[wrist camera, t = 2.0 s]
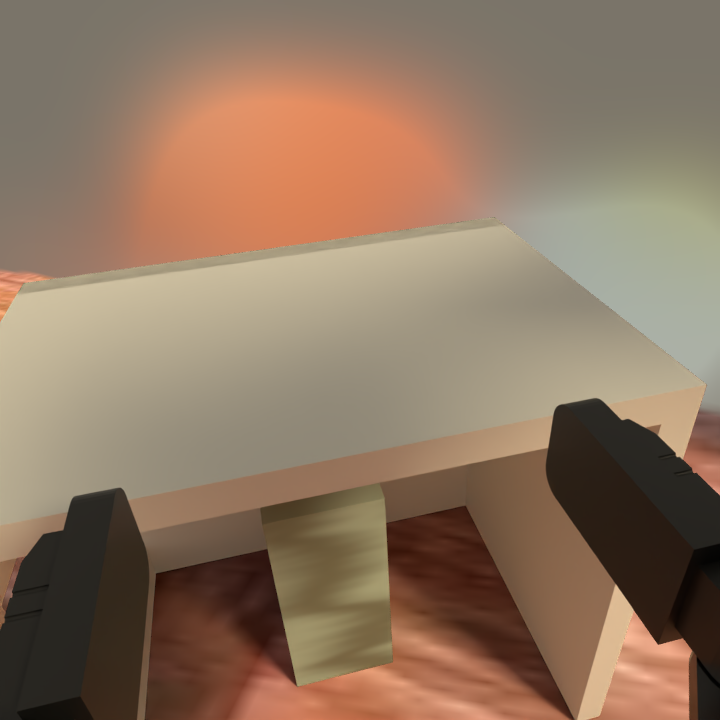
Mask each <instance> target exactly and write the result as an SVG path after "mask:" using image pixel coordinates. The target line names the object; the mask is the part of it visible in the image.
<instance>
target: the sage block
mask: <svg viewBox="0 0 720 720" xmlns="http://www.w3.org/2000/svg"><path fill="white" fill-rule="evenodd" d="M260 511H261V520H262V526H263V531H264V536H265V540H266V545H267V549H268V554H269V559H270V563H271V568H272V572H273V577H274V582H275V586H276V591H277V595H278V600H279V605H280V609H281V614H282V618H283V623H284V628H285V632H286V637H287V641H288V646H289V651H290V655H291V660H292V664H293V669H294V674H295V678H296V683H297V687H298V686H302V685H306V684H310V683H314V682H318V681H322V680H325V679H329V678H333V677H337V676H341V675H345V674H349V673H353V672H356V671H360V670H364V669H368V668H372V667H376V666H380V665H384V664H388V663H391V662H393V655H392V634H391V614H390V594H389V573H388V553H387V532H386V512H385V497H384V495H383V492H382V489H381V486H380V484H379V483H376V484H371V485H366V486H362V487H357V488H352V489H347V490H342V491H338V492H333V493H328V494H323V495H318V496H313V497H309V498H304V499H299V500H294V501H289V502H285V503H280V504H275V505H270V506H265V507H261V508H260Z"/></svg>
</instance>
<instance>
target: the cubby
mask: <svg viewBox="0 0 720 720" xmlns="http://www.w3.org/2000/svg"><path fill="white" fill-rule="evenodd" d="M706 386H707V384H705V383H704V382H703V381H702V380H700V379H699V378H698V377H696V376H695V375H694V374H693V373H691V372H690V371H689V370H688V369H686V368H685V367H684V366H683V365H681V364H680V363H679V362H677V361H676V360H675V359H673V358H672V357H671V356H670V355H669V354H667V353H666V352H665V351H664V350H662V349H661V348H660V347H658V346H657V345H656V344H655V343H653V342H652V341H651V340H650V339H648V338H647V337H646V336H644V335H643V334H642V333H641V332H639V331H638V330H637V329H636V328H634V327H633V326H632V325H630V324H629V323H628V322H627V321H625V320H624V319H623V318H622V317H620V316H619V315H618V314H617V313H615V312H614V311H613V310H612V309H610V308H609V307H608V306H606V305H605V304H604V303H603V302H601V301H600V300H599V299H598V298H596V297H595V296H594V295H592V294H591V293H590V292H589V291H587V290H586V289H585V288H584V287H582V286H581V285H580V284H578V283H577V282H576V281H575V280H573V279H572V278H571V277H570V276H568V275H567V274H566V273H565V272H563V271H562V270H561V269H559V268H558V267H557V266H556V265H554V264H553V263H552V262H551V261H549V260H548V259H547V258H545V257H544V256H543V255H542V254H540V253H539V252H537V250H535V249H534V248H533V247H532V246H530V245H529V244H528V243H526V242H525V241H524V240H522V239H521V238H520V237H519V236H517V235H516V234H515V233H514V232H512V231H511V230H510V229H508V228H507V227H506V226H505V225H504V224H502V223H501V222H500V221H499V220H497V219H496V218H495V217H492V218H485V219H478V220H471V221H463V222H457V223H450V224H443V225H436V226H428V227H421V228H414V229H406V230H399V231H393V232H385V233H378V234H371V235H364V236H357V237H349V238H343V239H335V240H328V241H321V242H315V243H307V244H300V245H293V246H285V247H279V248H271V249H264V250H257V251H250V252H242V253H235V254H229V255H221V256H214V257H207V258H200V259H193V260H186V261H178V262H171V263H164V264H157V265H150V266H143V267H135V268H128V269H122V270H114V271H107V272H100V273H93V274H86V275H78V276H71V277H64V278H57V279H50V280H43V281H36V282H28V283H23V285H22V287H21V288H20V290H19V292H18V293H17V295H16V297H15V298H14V300H13V302H12V303H11V305H10V307H9V308H8V310H7V312H6V314H5V315H4V317H3V319H2V320H1V322H0V629H1V626H2V624H3V623H5V618H4V616H5V613H6V612H5V610H4V609H3V607H2V603H3V599H4V596H5V593H6V590H7V587H8V584H9V581H10V578H11V575H12V572H13V568H14V565H15V562H16V559H17V558H20V557H25V556H27V554H28V553H29V552H30V551H31V549H32V548H33V547H34V545H35V544H36V543H37V541H38V540H39V539H40V537H41V536H42V535H43V534H46V533H51V532H56V531H61V530H63V529H64V525H65V521H66V517H67V513H68V509H69V506H70V502H71V500H72V498H73V497H74V496H77V495H83V494H88V493H93V492H98V491H104V490H109V489H114V488H122V489H123V490H124V492H125V494H126V496H127V499H128V502H129V504H130V507H131V510H132V512H133V515H134V518H135V520H136V523H137V526H138V528H139V531H140V534H141V536H142V539H143V542H144V544H145V548H146V551H147V556H148V563H149V591H148V602H147V613H146V625H145V636H144V647H143V658H142V669H141V681H140V692H139V703H138V714H137V720H145V709H146V696H147V683H148V671H149V658H150V645H151V632H152V619H153V606H154V593H155V580H156V573H160V572H165V571H169V570H174V569H179V568H183V567H188V566H192V565H197V564H201V563H206V562H210V561H215V560H220V559H224V558H229V557H233V556H238V555H242V554H247V553H252V552H256V551H261V550H265V549H267V545H266V540H265V536H264V531H263V526H262V520H261V511H260V508H261V507H265V506H270V505H275V504H280V503H285V502H289V501H294V500H299V499H304V498H309V497H313V496H318V495H323V494H328V493H333V492H338V491H342V490H347V489H352V488H357V487H362V486H366V485H371V484H376V483H379V484H380V486H381V489H382V492H383V495H384V497H385V512H386V523H388V522H393V521H397V520H402V519H406V518H411V517H416V516H420V515H425V514H429V513H434V512H438V511H443V510H448V509H452V508H457V507H461V506H466V507H467V509H468V511H469V513H470V515H471V517H472V519H473V521H474V523H475V525H476V527H477V529H478V531H479V533H480V535H481V537H482V539H483V541H484V543H485V545H486V547H487V549H488V551H489V553H490V555H491V557H492V558H493V560H494V562H495V564H496V566H497V568H498V570H499V572H500V574H501V576H502V578H503V580H504V582H505V584H506V586H507V588H508V590H509V592H510V594H511V596H512V598H513V600H514V602H515V604H516V606H517V608H518V610H519V612H520V613H521V615H522V617H523V619H524V621H525V623H526V625H527V627H528V629H529V631H530V633H531V635H532V637H533V639H534V641H535V643H536V645H537V647H538V649H539V651H540V653H541V655H542V657H543V659H544V661H545V663H546V665H547V667H548V669H549V670H550V672H551V674H552V676H553V678H554V680H555V682H556V684H557V686H558V688H559V690H560V692H561V694H562V696H563V698H564V700H565V702H566V704H567V706H568V708H569V710H570V712H571V714H572V716H573V718H574V720H588V719H591V718H595V717H598V716H600V713H601V710H602V707H603V704H604V701H605V698H606V695H607V691H608V688H609V685H610V682H611V679H612V676H613V673H614V670H615V667H616V664H617V661H618V658H619V654H620V651H621V648H622V645H623V642H624V639H625V636H626V633H627V630H628V627H629V624H630V621H631V617H632V614H633V611H634V610H633V608H632V607H631V605H630V604H629V602H628V601H627V600H626V598H625V597H624V595H623V594H622V592H621V591H620V590H619V588H618V587H617V585H616V584H615V582H614V581H613V580H612V578H611V577H610V575H609V574H608V572H607V571H606V570H605V568H604V567H603V565H602V564H601V562H600V561H599V560H598V558H597V557H596V555H595V554H594V552H593V551H592V550H591V548H590V547H589V545H588V544H587V542H586V541H585V540H584V538H583V537H582V535H581V534H580V532H579V531H578V530H577V528H576V527H575V525H574V524H573V522H572V521H571V520H570V518H569V517H568V515H567V514H566V512H565V511H564V509H563V508H562V507H561V505H560V504H559V502H558V501H557V499H556V498H555V497H554V495H553V493H552V491H551V489H550V487H549V484H548V480H547V476H546V458H547V452H548V446H549V439H550V433H551V427H552V420H553V414H554V411H555V408H556V407H557V406H558V405H561V404H566V403H571V402H576V401H582V400H587V399H592V398H598V399H600V400H602V401H603V402H604V403H605V404H606V405H607V406H608V407H609V408H610V409H611V410H612V411H613V412H614V413H615V414H616V415H617V416H618V417H619V418H620V419H621V420H625V419H630V420H632V421H634V422H636V423H638V424H639V425H641V426H643V427H645V428H647V429H649V430H650V431H652V432H654V433H656V434H657V435H658V436H659V437H660V438H661V439H662V440H663V441H664V442H665V443H666V444H667V445H668V446H669V447H670V448H671V449H672V450H673V451H674V452H675V453H676V456H677V457H681V458H682V459H683V457H684V454H685V451H686V448H687V445H688V442H689V439H690V436H691V432H692V429H693V426H694V423H695V420H696V417H697V414H698V411H699V408H700V405H701V402H702V398H703V395H704V392H705V389H706Z"/></svg>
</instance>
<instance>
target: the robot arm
mask: <svg viewBox="0 0 720 720" xmlns="http://www.w3.org/2000/svg"><path fill="white" fill-rule="evenodd" d="M546 476H547V480H548V484H549V487H550V489H551V491H552V493H553V495H554V497H555V498H556V499H557V501H558V502H559V504H560V505H561V507H562V508H563V509H564V511H565V512H566V514H567V515H568V517H569V518H570V520H571V521H572V522H573V524H574V525H575V527H576V528H577V530H578V531H579V532H580V534H581V535H582V537H583V538H584V540H585V541H586V542H587V544H588V545H589V547H590V548H591V550H592V551H593V552H594V554H595V555H596V557H597V558H598V560H599V561H600V562H601V564H602V565H603V567H604V568H605V570H606V571H607V572H608V574H609V575H610V577H611V578H612V580H613V581H614V582H615V584H616V585H617V587H618V588H619V590H620V591H621V592H622V594H623V595H624V597H625V598H626V600H627V601H628V602H629V604H630V605H631V607H632V608H633V610H634V611H635V612H636V614H637V615H638V617H639V618H640V620H641V621H642V622H643V624H644V625H645V627H646V628H647V630H648V631H649V632H650V634H651V635H652V637H653V638H654V640H655V641H656V642H657V644H658V645H659V644H663V643H667V642H670V641H674V640H678V639H681V638H683V639H684V640H685V641H686V643H687V644H688V645H689V647H690V648H691V649H692V653H691V655H690V658H689V720H720V495H719V494H718V493H717V492H716V491H715V490H713V489H712V488H711V487H710V486H709V485H708V484H707V483H706V482H705V481H704V480H703V479H702V478H701V477H700V476H699V475H698V474H697V473H693V472H692V468H691V467H690V466H689V465H688V464H687V463H686V462H685V461H684V460H683V459H682V458H681V457H677V456H676V453H675V452H674V451H673V450H672V449H671V448H670V447H669V446H668V445H667V444H666V443H665V442H664V441H663V440H662V439H661V438H660V437H659V436H658V435H657V434H656V433H654V432H652V431H650V430H649V429H647V428H645V427H643V426H641V425H639V424H638V423H636V422H634V421H632V420H630V419H625V420H621V419H620V418H619V417H618V416H617V415H616V414H615V413H614V412H613V411H612V410H611V409H610V408H609V407H608V406H607V405H606V404H605V403H604V402H603V401H602V400H600V399H598V398H592V399H587V400H582V401H576V402H571V403H566V404H561V405H558V406H557V407H556V408H555V411H554V414H553V420H552V427H551V433H550V439H549V446H548V452H547V458H546ZM148 591H149V563H148V556H147V551H146V548H145V544H144V542H143V539H142V536H141V534H140V531H139V528H138V526H137V523H136V520H135V518H134V515H133V512H132V510H131V507H130V504H129V502H128V499H127V496H126V494H125V492H124V490H123V489H122V488H114V489H109V490H104V491H98V492H93V493H88V494H83V495H77V496H74V497H73V498H72V500H71V502H70V506H69V509H68V513H67V517H66V521H65V525H64V529H63V530H61V531H56V532H51V533H46V534H43V535H42V536H41V537H40V539H39V540H38V541H37V543H36V544H35V545H34V547H33V548H32V549H31V551H30V552H29V553H28V554H27V556H26V557H25V558H24V560H23V561H22V562H21V566H20V569H19V572H18V575H17V578H16V581H15V584H14V588H13V591H12V593H13V597H12V598H10V600H9V603H8V607H7V610H6V613H5V616H4V618H5V623H3V624H2V626H1V629H0V720H137V714H138V703H139V692H140V681H141V669H142V658H143V647H144V636H145V625H146V613H147V602H148Z"/></svg>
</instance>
